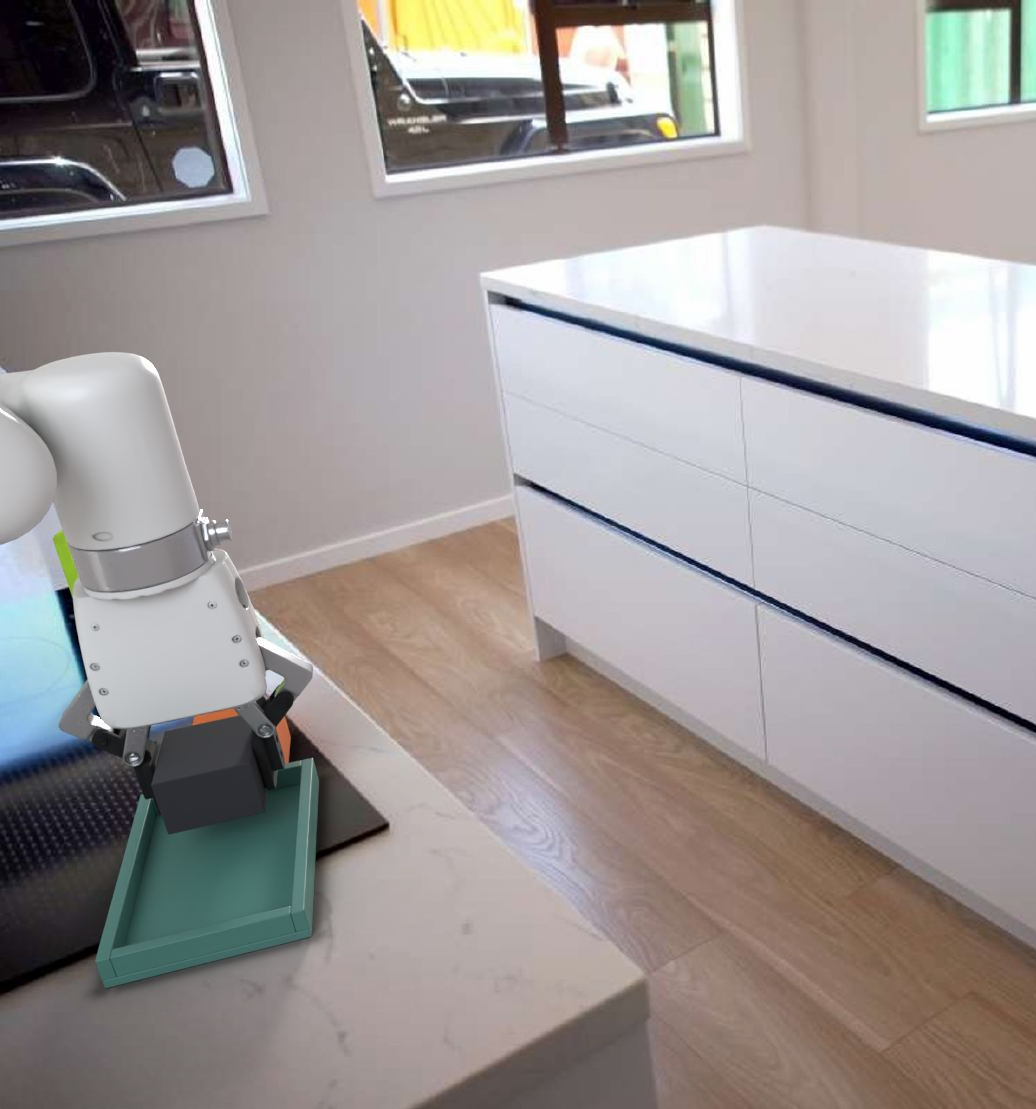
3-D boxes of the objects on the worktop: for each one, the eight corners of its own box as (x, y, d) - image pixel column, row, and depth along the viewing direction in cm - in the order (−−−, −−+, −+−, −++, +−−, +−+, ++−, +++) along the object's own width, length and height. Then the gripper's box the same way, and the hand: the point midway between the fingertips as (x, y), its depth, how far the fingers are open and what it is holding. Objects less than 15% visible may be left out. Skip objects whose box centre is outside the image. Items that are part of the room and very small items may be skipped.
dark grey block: (168, 835, 83) (150, 784, 81) (180, 778, 89) (164, 730, 87) (265, 812, 85) (250, 762, 83) (271, 758, 91) (257, 710, 89)
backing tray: (104, 989, 75) (94, 961, 74) (148, 818, 90) (140, 794, 90) (311, 936, 78) (304, 909, 77) (319, 781, 94) (313, 757, 93)
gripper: (292, 507, 85) (352, 734, 92) (3, 556, 80) (91, 791, 87) (286, 549, 78) (351, 789, 86) (-28, 605, 73) (70, 854, 81)
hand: (219, 788), depth 87 cm, fingers closed on dark grey block, 6 cm apart
